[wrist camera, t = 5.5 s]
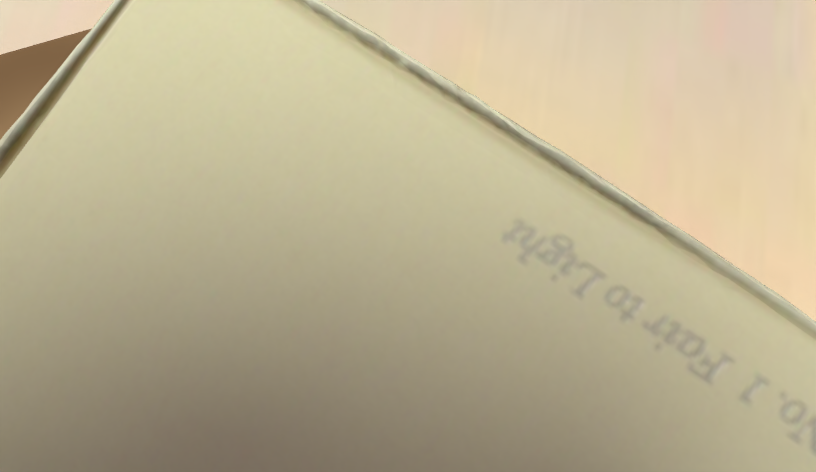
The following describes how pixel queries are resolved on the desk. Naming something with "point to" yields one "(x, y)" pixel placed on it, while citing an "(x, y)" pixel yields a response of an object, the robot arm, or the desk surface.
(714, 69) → the desk surface
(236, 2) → the skincare box
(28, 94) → the frame
